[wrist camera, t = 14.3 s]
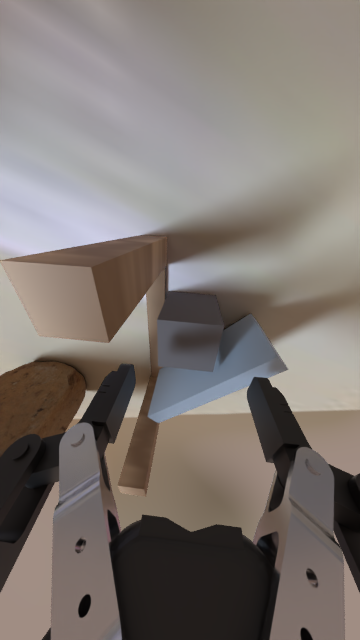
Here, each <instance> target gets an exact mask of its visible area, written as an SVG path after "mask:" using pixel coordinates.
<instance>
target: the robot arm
mask: <svg viewBox="0 0 360 640" xmlns="http://www.w3.org/2000/svg"><path fill="white" fill-rule="evenodd" d="M135 383H136V378H135V371H134V365H132V364H121V365H120V367H119V369H118V370H117V371H112V372H111V373H110V374H108V375H107V376H106V377H105V379H104V381H103V382H102V384H101V386H100V388H99V389H98V391H97V393H96V394H95V396H94V398H93V400H92V401H91V403H90V405H89V407H88V408H87V410H86V412H85V413H84V415H83V417H82V419H81V420H80V421H79V422H78V423H77V424H76V425H75V426H73V427H71V428H70V429H69V430H68V431H67V432H64V433H61V434H57V435H53V436H49V437H45V438H41V437H40V436H38V435H37V434H29V435H26V436H23V437H21V438H20V439H18V440H16V441H15V442H14V443H13V444H11V445H10V446H9V447H8V448H7V449H6V451H5V452H4V453H3V454H2V456H1V457H0V592H1V590H2V588H3V586H4V584H5V582H6V580H7V578H8V576H9V574H10V572H11V570H12V568H13V566H14V564H15V562H16V560H17V558H18V556H19V554H20V552H21V550H22V548H23V546H24V544H25V542H26V540H27V538H28V536H29V533H30V532H31V530H32V528H33V525H34V524H35V522H36V519H37V517H38V515H39V513H40V511H41V509H42V507H43V505H44V503H45V501H46V499H47V497H48V495H49V493H50V491H51V489H52V487H53V485H54V483H55V482H58V481H59V503H58V505H57V506H56V508H55V511H54V517H53V547H52V549H53V550H52V598H51V628H50V629H49V630H48V632H47V634H46V635H45V636H44V637H43V639H42V640H345V618H344V617H345V612H344V611H345V610H344V560H343V554H344V556H345V559H346V561H347V564H348V566H349V568H350V571H351V573H352V575H353V577H354V580H355V583H356V585H357V587H358V590H359V592H360V474H358V475H356V476H353V475H351V474H349V473H347V472H344V471H342V470H340V469H338V468H335V467H334V466H331V465H330V464H328V463H327V462H326V461H325V459H324V458H323V457H322V456H321V455H320V454H318V453H317V452H316V451H314V450H312V448H311V447H310V445H309V443H308V442H307V440H306V438H305V436H304V434H303V432H302V430H301V428H300V426H299V424H298V422H297V421H296V419H295V417H294V415H293V414H292V411H291V409H290V407H289V406H288V403H287V401H286V399H285V398H284V396H283V395H282V393H281V392H280V391H279V390H278V389H277V388H275V387H272V385H271V383H270V381H269V380H268V379H267V378H263V377H254V378H253V379H252V382H251V384H250V386H249V388H248V390H247V400H248V403H249V407H250V410H251V413H252V416H253V420H254V423H255V426H256V429H257V433H258V436H259V439H260V443H261V446H262V449H263V453H264V456H265V459H266V462H270V463H274V464H275V467H276V471H275V473H274V477H273V481H272V485H271V488H270V492H269V496H268V500H267V504H266V507H265V510H264V513H263V515H262V517H261V518H260V520H259V523H258V526H257V529H256V532H255V535H254V539H253V542H252V541H251V540H250V539H248V538H247V537H246V536H244V535H242V530H241V528H239V527H232V526H224V525H217V524H216V525H214V526H210V527H207V528H204V529H200V530H197V531H194V532H190V531H188V530H186V529H184V528H182V527H181V526H179V525H177V524H176V523H174V522H172V521H171V520H169V519H167V518H164V517H156V516H149V515H142V519H141V520H139V521H136V522H134V523H132V524H130V525H129V526H127V527H126V528H125V529H124V530H122V531H121V527H120V522H119V517H118V512H117V508H116V503H115V500H114V496H113V493H112V489H111V483H110V478H109V473H108V468H107V463H106V457H105V450H106V447H107V444H108V443H113V444H114V442H115V440H116V437H117V434H118V431H119V429H120V426H121V423H122V421H123V418H124V415H125V412H126V410H127V407H128V404H129V401H130V399H131V396H132V393H133V390H134V387H135ZM333 530H334V533H335V535H336V537H337V540H338V542H339V544H338V543H337V542H336V541H335V539H334V534H333ZM339 545H340V546H339ZM340 547H341V548H340ZM341 549H342V550H341ZM342 552H343V554H342Z"/></svg>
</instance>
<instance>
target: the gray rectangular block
mask: <svg viewBox="0 0 360 640" xmlns="http://www.w3.org/2000/svg"><path fill="white" fill-rule="evenodd" d="M223 329H224V323H223V320H222V316H221V313H220V309H219V305H218V302H217V298H216V295H207V294H195V293H183V292H172V291H169V292H168V295H167V297H166V299H165V302H164V304H163V307H162V309H161V311H160V314H159V316H158V319H157V336H158V366H161V367H170V368H179V369H188V370H198V371H207V372H213V370H214V366H215V362H216V358H217V354H218V350H219V346H220V341H221V337H222V333H223Z"/></svg>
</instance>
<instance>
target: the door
mask: <svg viewBox="0 0 360 640" xmlns="http://www.w3.org/2000/svg"><path fill="white" fill-rule="evenodd" d="M286 370H288V368H287V367H286V365H285V364H284V362H283V361H282V359H281V357H280V356H279V354H278V353H277V351H276V350H275V348H274V347H273V345H272V343H271V342H270V340H269V339H268V337H267V336H266V334H265V332H264V331H263V329H262V328H261V326H260V325H259V323H258V322H257V321H256V319H255V318H254V317H253V315H252V314H249V315H248V316H246V317H244V318H243V319H241V320H239V321H238V322H236V323H235V324H233V325H231V326H230V327H228V328H226V329H225V330H223V333H222V337H221V341H220V346H219V350H218V354H217V358H216V362H215V366H214V370H213V372H207V371H198V370H188V369H179V368H170V367H163V368H161V369H160V370H159V373H158V377H157V381H156V385H155V389H154V393H153V397H152V401H151V405H150V409H149V413H148V416H147V417H149V418H150V419H152V420H154V421H155V422H157V423H160V422H162V421H165V420H167V419H170V418H172V417H174V416H177V415H179V414H182V413H184V412H186V411H189V410H191V409H194V408H196V407H199V406H201V405H203V404H206V403H208V402H211V401H213V400H216V399H218V398H220V397H223V396H225V395H228V394H230V393H233V392H235V391H237V390H240V389H242V388H245V387H247V386H249V385H250V384H251V382H252V379H253V378H254V377H263V378H269V377H271V376H274V375H276V374H279V373H281V372H283V371H286Z"/></svg>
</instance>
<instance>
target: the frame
mask: <svg viewBox="0 0 360 640" xmlns="http://www.w3.org/2000/svg"><path fill="white" fill-rule="evenodd" d="M0 262H1V264H2V266H3V268H4V270H5V272H6V274H7V276H8V278H9V279H10V281H11V283H12V285H13V287H14V289H15V291H16V293H17V295H18V297H19V299H20V300H21V302H22V304H23V306H24V308H25V310H26V312H27V314H28V316H29V318H30V320H31V321H32V323H33V325H34V327H35V329H36V331H37V333H38V335H39V336H44V337H54V338H65V339H75V340H85V341H95V342H105V343H109V342H110V341H111V340H112V338H113V337H114V335H115V334H116V333H117V331H118V330H119V329H120V327H121V326H122V325H123V323H124V322H125V321H126V319H127V318H128V317H129V315H130V314H131V313H132V311H133V310H134V309H135V307H136V306H137V304H138V303H139V302H140V300H141V299H142V298H143V296H144V295H145V294H146V299H147V314H148V329H149V344H150V359H151V374H152V375H151V376H150V380H149V383H148V386H147V390H146V393H145V396H144V400H143V403H142V406H141V409H140V413H139V416H138V419H137V423H136V426H135V429H134V433H133V436H132V439H131V443H130V446H129V449H128V453H127V456H126V459H125V462H124V466H123V469H122V472H121V476H120V479H119V482H118V488H119V489H120V491H121V493H124V494H131V495H138V496H146V493H147V488H148V482H149V477H150V472H151V466H152V460H153V455H154V450H155V444H156V439H157V433H158V428H159V423H157V422H155V421H154V420H152V419H150V418H149V417H147V416H148V413H149V409H150V405H151V401H152V397H153V393H154V389H155V385H156V381H157V377H158V373H159V370H160V369H161V368H163V367H161V366H158V336H157V319H158V316H159V314H160V311H161V309H162V307H163V304H164V302H165V267H166V265H167V237H161V236H145V235H140V236H134V237H129V238H123V239H117V240H112V241H106V242H100V243H95V244H89V245H84V246H78V247H72V248H67V249H61V250H55V251H50V252H44V253H39V254H33V255H27V256H22V257H16V258H11V259H5V260H0Z"/></svg>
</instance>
